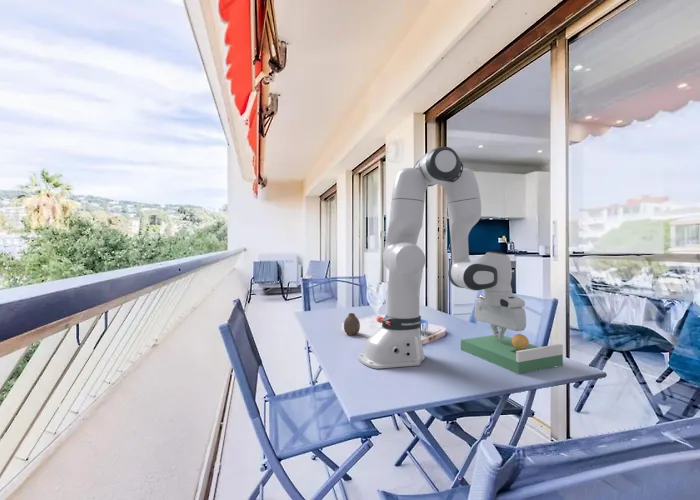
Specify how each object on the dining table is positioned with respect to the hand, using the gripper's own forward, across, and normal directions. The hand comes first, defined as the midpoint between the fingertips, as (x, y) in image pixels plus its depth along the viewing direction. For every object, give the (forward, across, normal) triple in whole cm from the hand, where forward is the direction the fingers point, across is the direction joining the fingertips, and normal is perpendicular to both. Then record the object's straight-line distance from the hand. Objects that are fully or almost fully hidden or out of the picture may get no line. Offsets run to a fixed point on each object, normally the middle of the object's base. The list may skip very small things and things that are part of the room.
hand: (498, 338), depth 124 cm
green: (+5, +4, 0) cm, 7 cm away
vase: (+5, -45, -37) cm, 58 cm away
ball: (-1, +9, 0) cm, 9 cm away
